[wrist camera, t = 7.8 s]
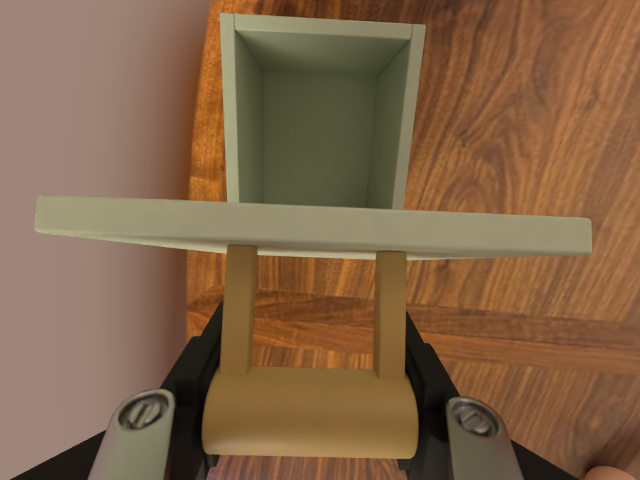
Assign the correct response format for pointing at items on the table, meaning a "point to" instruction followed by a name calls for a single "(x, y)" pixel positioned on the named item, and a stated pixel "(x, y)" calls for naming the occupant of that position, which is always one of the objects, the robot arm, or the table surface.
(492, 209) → the table surface
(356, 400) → the lid
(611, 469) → the egg
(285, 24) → the chest
